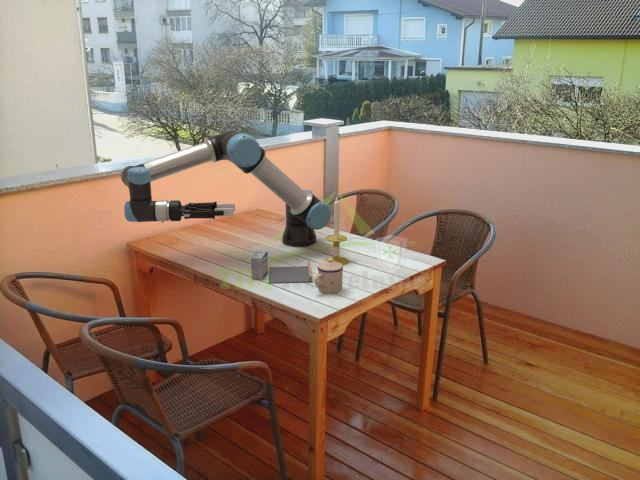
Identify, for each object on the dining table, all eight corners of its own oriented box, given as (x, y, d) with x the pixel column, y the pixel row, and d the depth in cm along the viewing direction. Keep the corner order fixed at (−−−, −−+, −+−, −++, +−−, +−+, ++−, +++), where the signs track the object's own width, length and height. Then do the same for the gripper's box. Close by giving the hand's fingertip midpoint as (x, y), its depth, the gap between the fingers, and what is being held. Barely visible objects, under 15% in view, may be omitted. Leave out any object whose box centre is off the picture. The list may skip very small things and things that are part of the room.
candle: (344, 266, 233) (345, 200, 224) (320, 263, 236) (320, 198, 228) (351, 258, 242) (352, 194, 233) (328, 255, 245) (329, 192, 237)
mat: (309, 267, 232) (309, 261, 232) (312, 282, 217) (312, 276, 217) (269, 268, 231) (268, 262, 231) (268, 283, 216) (268, 277, 216)
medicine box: (263, 280, 220) (262, 258, 217) (251, 279, 220) (250, 257, 218) (268, 272, 227) (267, 251, 224) (257, 271, 228) (256, 250, 225)
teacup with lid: (329, 282, 217) (330, 252, 214) (348, 289, 211) (348, 258, 207) (306, 291, 209) (306, 260, 205) (324, 299, 203) (324, 267, 199)
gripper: (174, 213, 224) (236, 212, 225) (165, 228, 206) (232, 227, 207) (173, 194, 221) (235, 193, 223) (163, 207, 203) (231, 206, 205)
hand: (233, 209), depth 215 cm, fingers open, 6 cm apart
